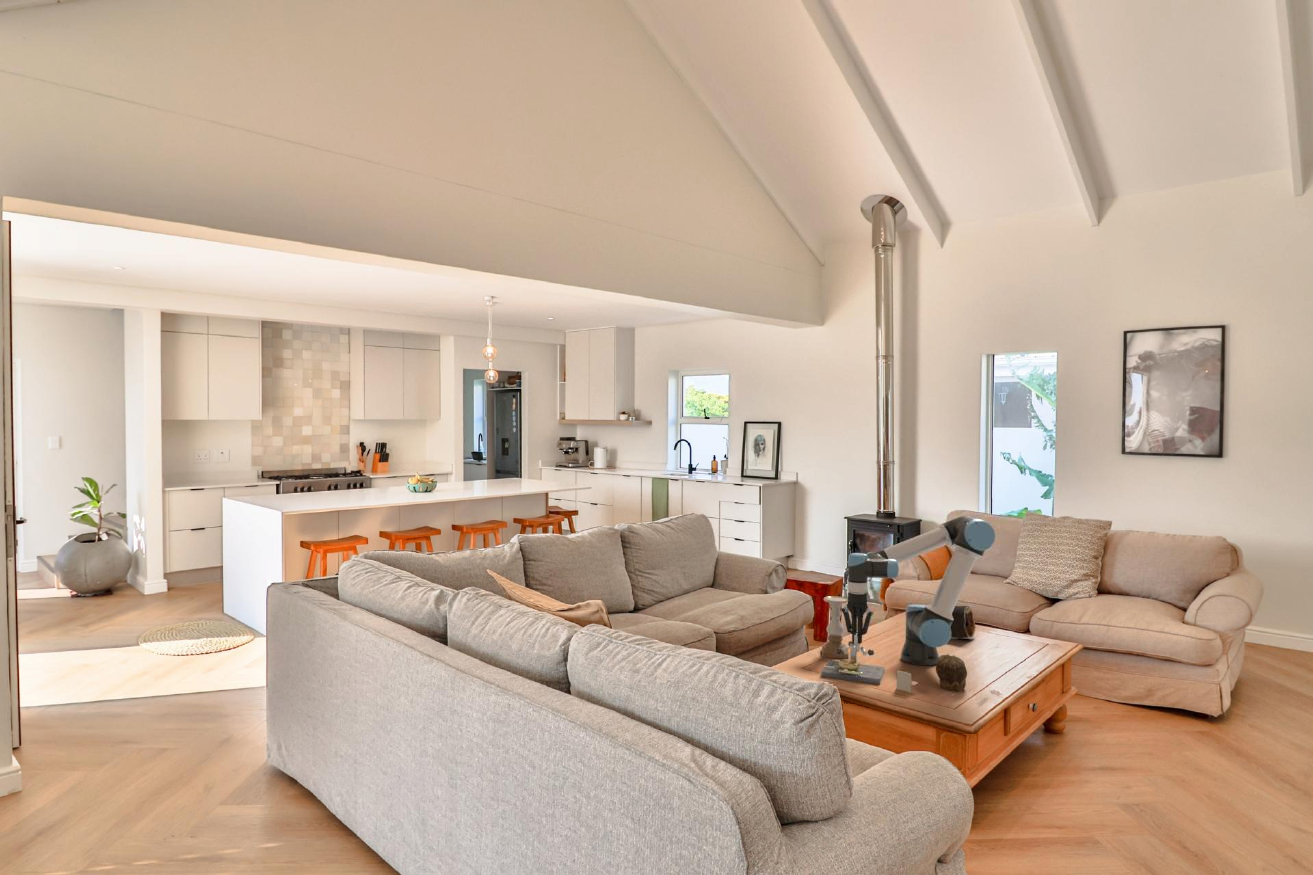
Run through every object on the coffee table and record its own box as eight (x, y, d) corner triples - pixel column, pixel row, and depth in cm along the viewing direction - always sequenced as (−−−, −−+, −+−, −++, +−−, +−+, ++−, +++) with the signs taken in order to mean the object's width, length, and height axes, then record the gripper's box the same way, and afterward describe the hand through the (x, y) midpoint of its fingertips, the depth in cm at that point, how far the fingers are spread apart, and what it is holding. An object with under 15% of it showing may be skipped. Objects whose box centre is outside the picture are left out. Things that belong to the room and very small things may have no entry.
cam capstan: (869, 663, 315) (869, 640, 315) (874, 674, 301) (874, 651, 301) (832, 661, 317) (832, 639, 316) (836, 672, 303) (836, 649, 303)
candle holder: (848, 658, 328) (849, 602, 327) (822, 657, 330) (822, 600, 329) (847, 651, 338) (848, 596, 338) (821, 649, 340) (822, 595, 340)
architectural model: (900, 687, 294) (900, 668, 294) (917, 692, 290) (918, 672, 289) (896, 690, 292) (896, 670, 292) (913, 694, 287) (914, 674, 287)
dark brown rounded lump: (930, 683, 298) (930, 652, 298) (958, 682, 299) (958, 651, 299) (943, 693, 287) (943, 660, 287) (972, 692, 288) (972, 660, 288)
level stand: (884, 671, 311) (884, 661, 311) (879, 684, 296) (880, 673, 296) (828, 664, 319) (828, 655, 319) (821, 676, 304) (821, 666, 304)
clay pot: (918, 602, 379) (971, 600, 364) (925, 633, 379) (978, 632, 364) (908, 612, 367) (962, 610, 352) (915, 644, 367) (970, 643, 352)
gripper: (876, 592, 312) (875, 651, 312) (846, 588, 320) (845, 646, 320) (869, 595, 306) (868, 656, 306) (838, 591, 314) (837, 650, 314)
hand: (856, 651), depth 313 cm, fingers closed
